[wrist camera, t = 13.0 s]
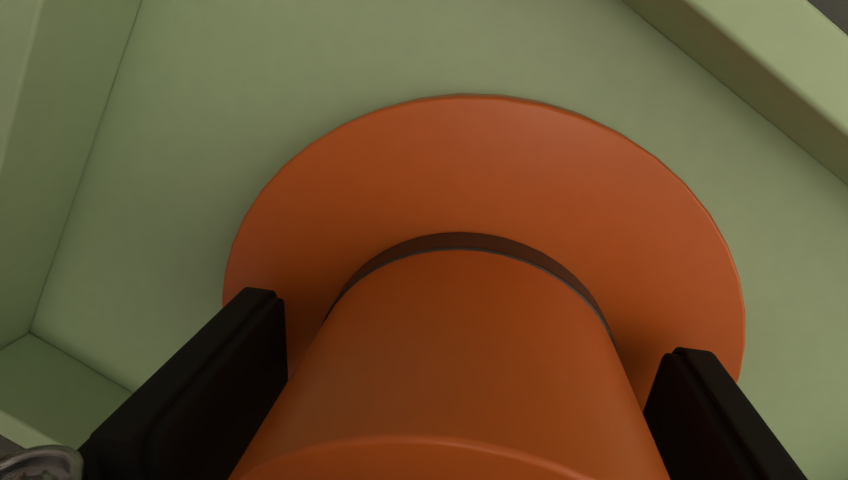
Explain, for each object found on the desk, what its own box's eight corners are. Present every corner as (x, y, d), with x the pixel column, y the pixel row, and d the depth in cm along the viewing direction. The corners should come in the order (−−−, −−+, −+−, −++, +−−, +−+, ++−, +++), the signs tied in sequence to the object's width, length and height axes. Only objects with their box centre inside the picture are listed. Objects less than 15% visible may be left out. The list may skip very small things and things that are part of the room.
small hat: (168, 367, 12) (-81, 611, 7) (395, -44, 8) (189, -253, 2) (504, 570, 13) (514, 907, 8) (861, 317, 9) (1385, 688, 4)
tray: (17, 322, 13) (-92, 384, 10) (242, -378, 7) (104, -617, 4) (562, 644, 15) (576, 756, 13) (1099, 339, 9) (1320, 443, 7)
